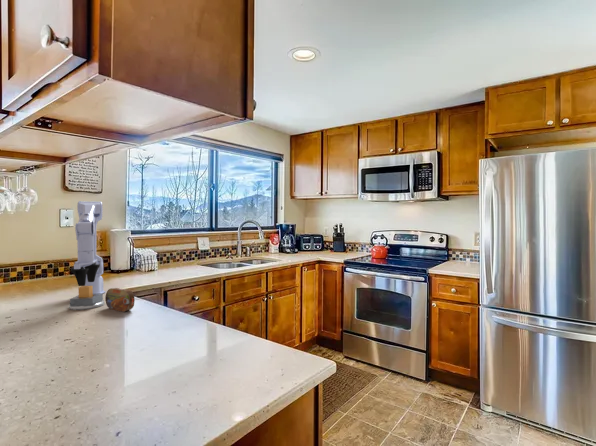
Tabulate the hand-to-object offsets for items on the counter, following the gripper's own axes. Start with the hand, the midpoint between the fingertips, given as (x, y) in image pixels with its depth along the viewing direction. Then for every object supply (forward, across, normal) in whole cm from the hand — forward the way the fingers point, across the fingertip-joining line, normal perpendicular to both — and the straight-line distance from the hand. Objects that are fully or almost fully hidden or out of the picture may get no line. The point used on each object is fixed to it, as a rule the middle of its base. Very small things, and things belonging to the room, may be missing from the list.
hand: (86, 283), depth 138 cm
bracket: (+9, 0, 0) cm, 9 cm away
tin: (+9, +8, +16) cm, 20 cm away
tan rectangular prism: (+8, 0, 0) cm, 8 cm away
